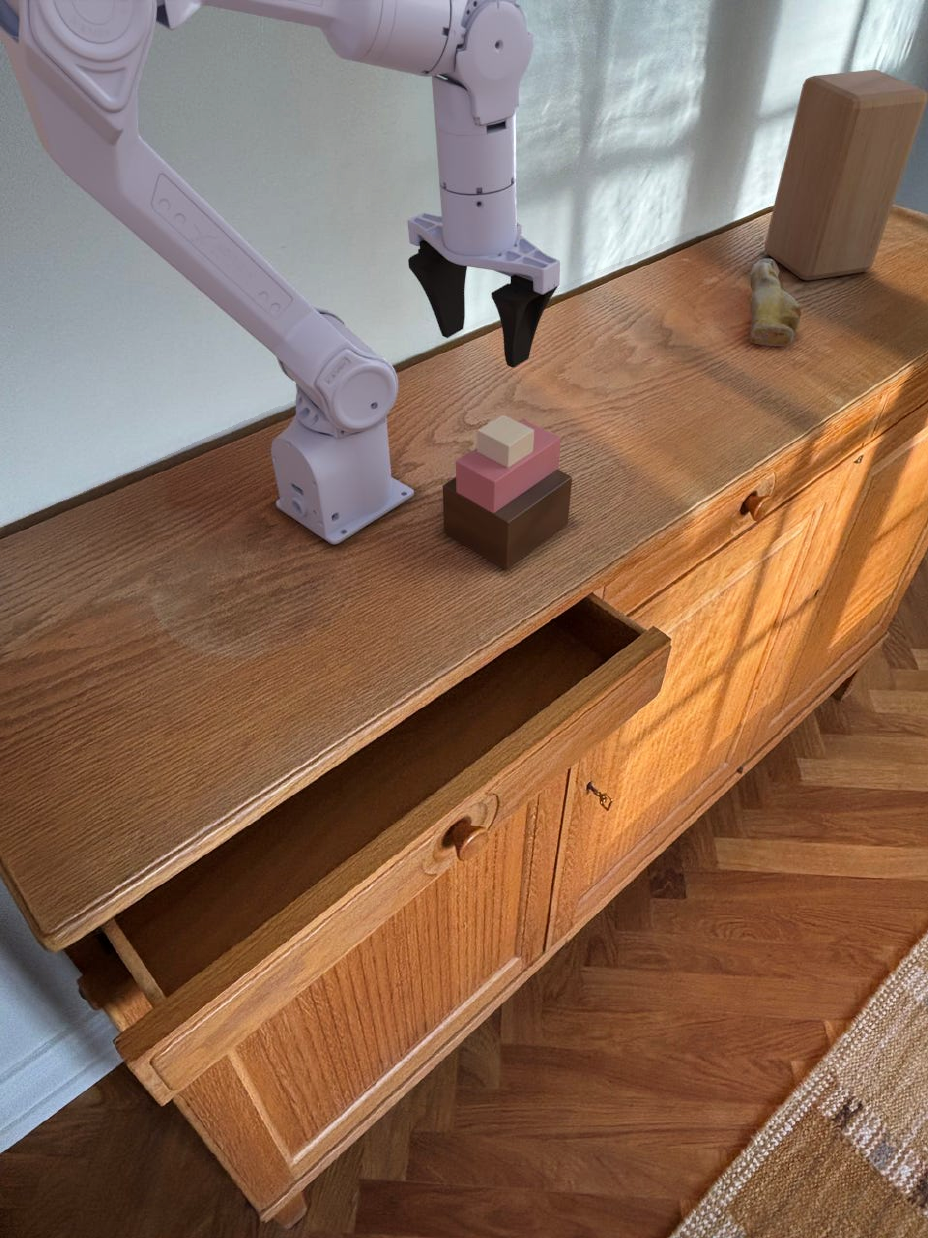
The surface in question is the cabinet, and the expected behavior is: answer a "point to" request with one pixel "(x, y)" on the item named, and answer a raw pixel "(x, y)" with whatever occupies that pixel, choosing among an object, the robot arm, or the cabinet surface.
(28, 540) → the cabinet surface
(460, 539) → the walnut block
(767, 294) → the figurine
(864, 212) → the block
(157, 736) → the cabinet surface
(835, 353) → the cabinet surface
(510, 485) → the pink toy brick
